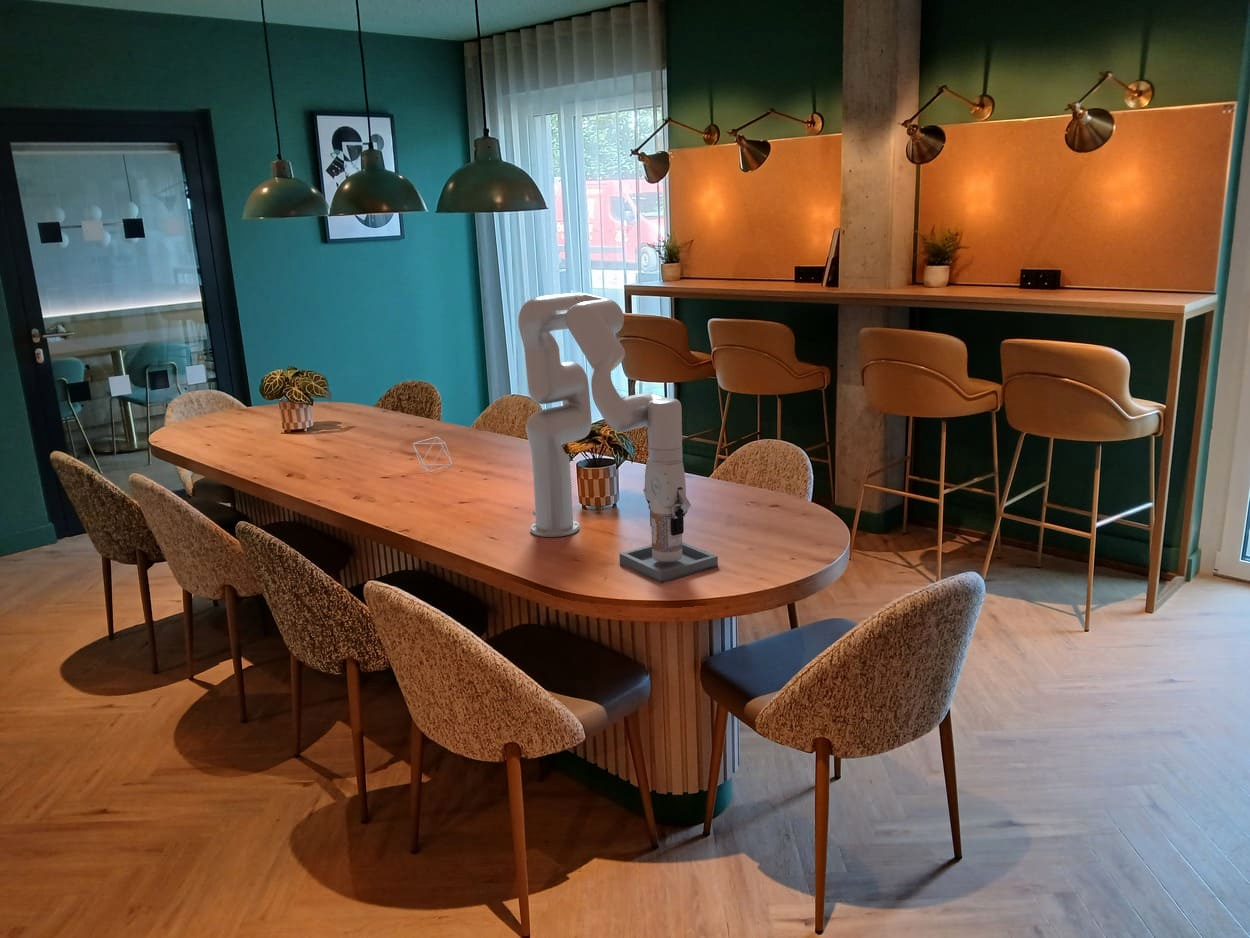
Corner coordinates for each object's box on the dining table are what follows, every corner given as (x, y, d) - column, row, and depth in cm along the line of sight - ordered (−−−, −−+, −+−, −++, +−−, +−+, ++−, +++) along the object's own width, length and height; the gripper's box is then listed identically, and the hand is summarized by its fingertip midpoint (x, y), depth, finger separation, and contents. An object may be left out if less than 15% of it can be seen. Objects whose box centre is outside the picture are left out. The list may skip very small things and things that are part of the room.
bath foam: (649, 554, 221) (647, 470, 216) (678, 551, 222) (676, 468, 217) (655, 564, 214) (653, 478, 209) (685, 561, 215) (684, 476, 210)
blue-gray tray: (619, 563, 220) (619, 553, 220) (674, 548, 229) (674, 538, 229) (661, 583, 208) (661, 572, 207) (717, 566, 216) (717, 556, 216)
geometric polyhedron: (408, 468, 312) (405, 442, 310) (433, 461, 321) (430, 435, 318) (435, 474, 305) (432, 446, 303) (459, 466, 314) (457, 439, 311)
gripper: (629, 449, 217) (631, 524, 221) (675, 464, 203) (677, 543, 207) (655, 444, 221) (657, 517, 225) (703, 458, 207) (704, 536, 212)
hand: (666, 529), depth 216 cm, fingers closed on bath foam, 7 cm apart
